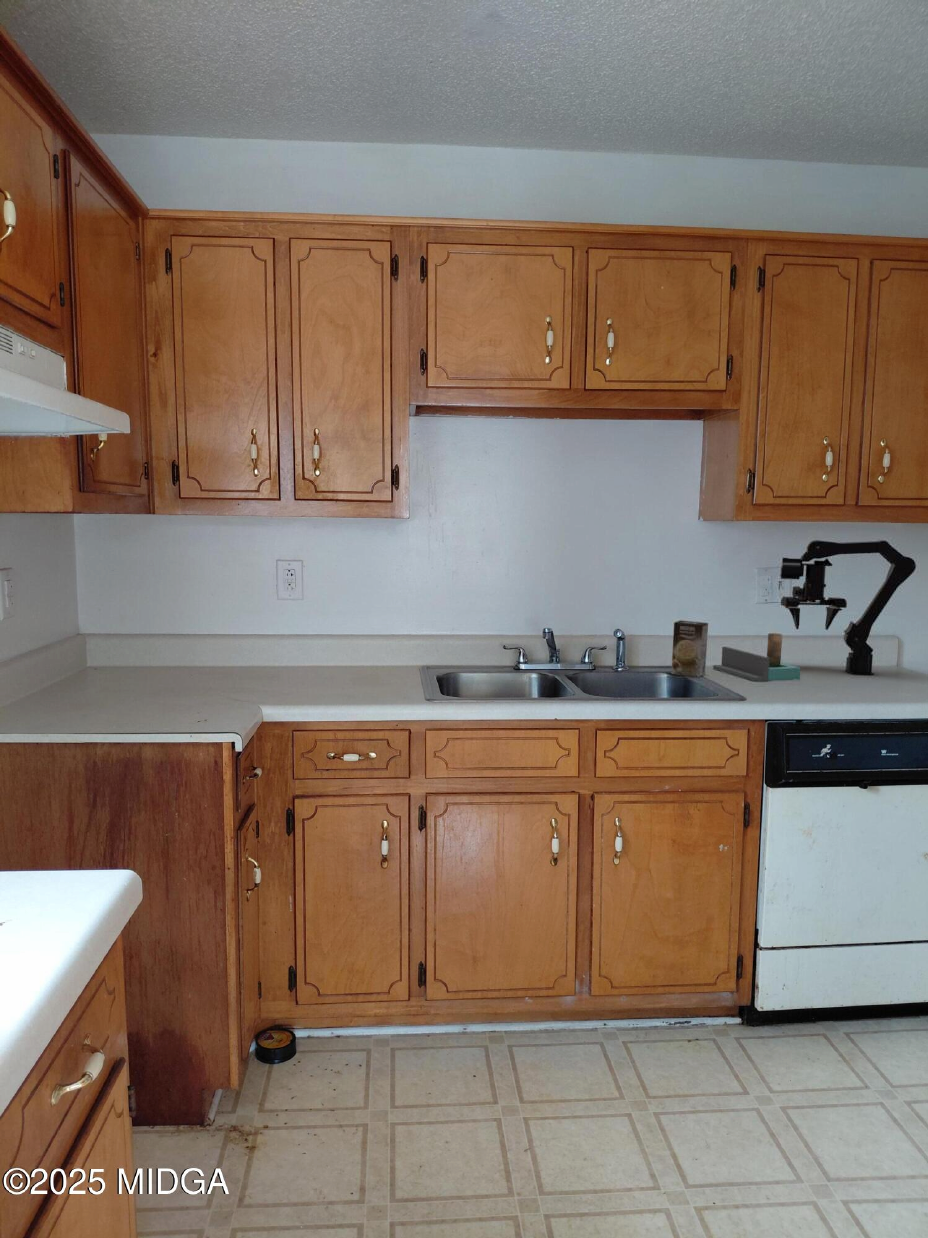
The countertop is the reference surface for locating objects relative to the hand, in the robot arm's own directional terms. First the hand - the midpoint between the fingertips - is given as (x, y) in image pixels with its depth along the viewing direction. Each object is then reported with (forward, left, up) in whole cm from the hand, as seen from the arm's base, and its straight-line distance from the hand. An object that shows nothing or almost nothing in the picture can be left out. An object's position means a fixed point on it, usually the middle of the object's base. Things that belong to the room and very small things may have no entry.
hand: (811, 629), depth 274 cm
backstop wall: (+25, +11, -13) cm, 31 cm away
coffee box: (+41, +12, -13) cm, 45 cm away
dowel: (+16, +13, -12) cm, 24 cm away
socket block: (+16, +13, -14) cm, 25 cm away
